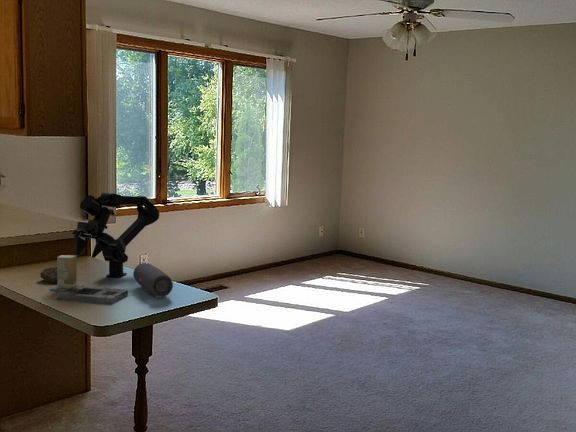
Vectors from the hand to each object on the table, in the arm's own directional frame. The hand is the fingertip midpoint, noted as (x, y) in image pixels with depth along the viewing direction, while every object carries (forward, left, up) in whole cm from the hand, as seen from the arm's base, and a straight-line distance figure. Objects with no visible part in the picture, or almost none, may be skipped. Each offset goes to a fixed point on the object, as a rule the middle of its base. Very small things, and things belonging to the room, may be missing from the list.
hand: (84, 256), depth 244 cm
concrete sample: (-1, -14, -12) cm, 18 cm away
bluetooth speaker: (+4, +31, -12) cm, 34 cm away
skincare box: (+8, -3, -11) cm, 14 cm away
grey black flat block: (+16, +13, -11) cm, 24 cm away
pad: (+8, -3, -11) cm, 14 cm away
